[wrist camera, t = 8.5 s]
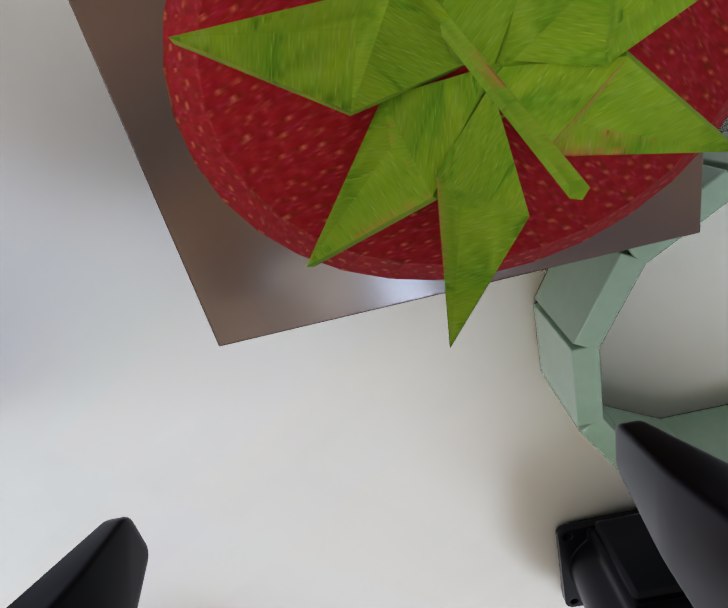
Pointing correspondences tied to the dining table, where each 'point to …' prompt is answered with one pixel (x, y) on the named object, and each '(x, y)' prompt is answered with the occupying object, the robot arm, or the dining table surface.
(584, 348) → the holder
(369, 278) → the shelf
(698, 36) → the strawberry
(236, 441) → the dining table surface
